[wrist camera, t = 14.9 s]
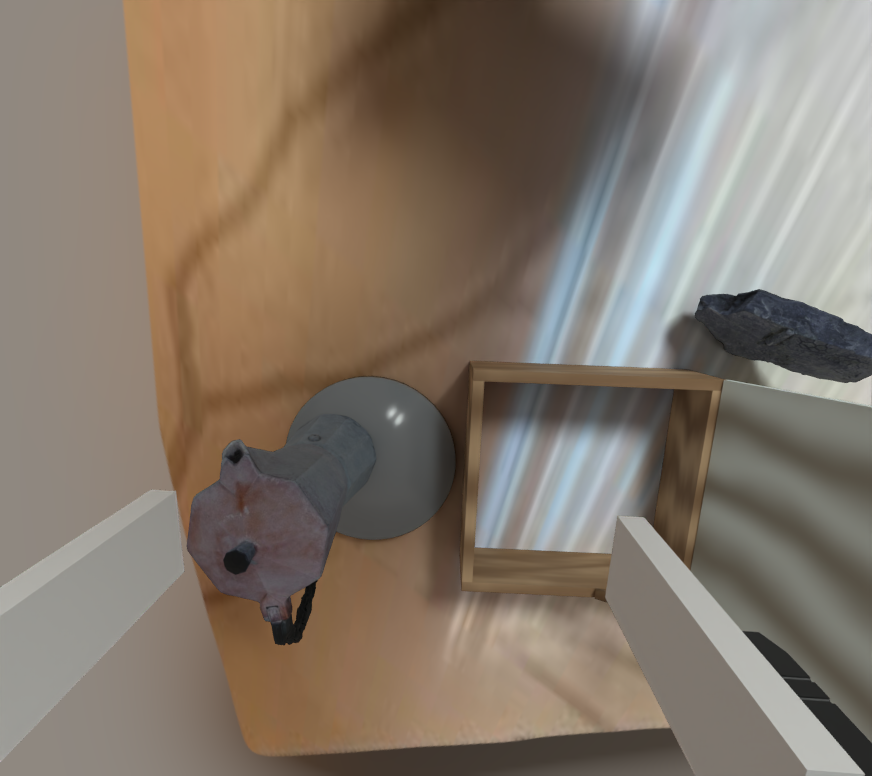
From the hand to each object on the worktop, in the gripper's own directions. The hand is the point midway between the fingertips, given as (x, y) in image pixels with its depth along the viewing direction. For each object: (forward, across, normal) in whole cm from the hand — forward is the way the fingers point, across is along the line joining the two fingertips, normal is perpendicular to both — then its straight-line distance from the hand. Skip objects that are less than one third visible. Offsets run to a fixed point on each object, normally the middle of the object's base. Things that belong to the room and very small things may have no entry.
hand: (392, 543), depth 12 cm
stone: (+32, +30, +5) cm, 44 cm away
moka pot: (+30, -10, -10) cm, 33 cm away
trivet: (+31, -6, -10) cm, 33 cm away
